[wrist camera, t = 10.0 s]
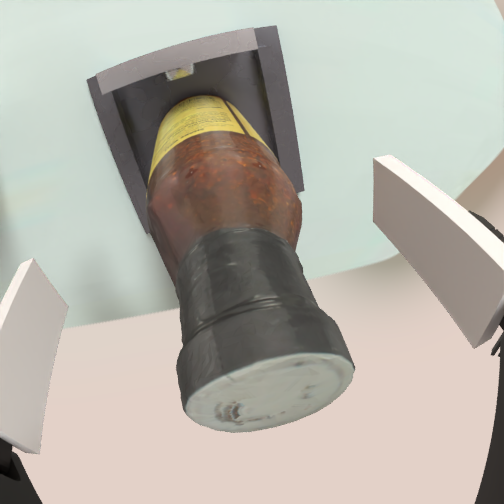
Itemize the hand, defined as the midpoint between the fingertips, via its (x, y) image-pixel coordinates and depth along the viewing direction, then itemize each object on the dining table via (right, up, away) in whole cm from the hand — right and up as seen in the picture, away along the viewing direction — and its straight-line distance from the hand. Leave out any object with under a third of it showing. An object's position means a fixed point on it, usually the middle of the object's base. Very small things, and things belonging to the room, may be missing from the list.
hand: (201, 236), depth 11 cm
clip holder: (-2, +9, +12) cm, 15 cm away
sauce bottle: (-2, +8, +11) cm, 14 cm away
